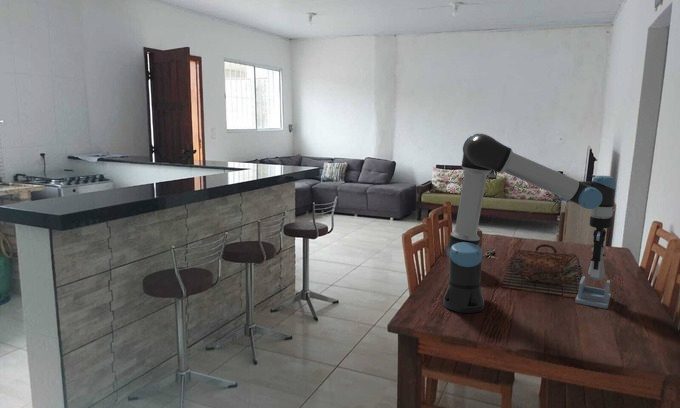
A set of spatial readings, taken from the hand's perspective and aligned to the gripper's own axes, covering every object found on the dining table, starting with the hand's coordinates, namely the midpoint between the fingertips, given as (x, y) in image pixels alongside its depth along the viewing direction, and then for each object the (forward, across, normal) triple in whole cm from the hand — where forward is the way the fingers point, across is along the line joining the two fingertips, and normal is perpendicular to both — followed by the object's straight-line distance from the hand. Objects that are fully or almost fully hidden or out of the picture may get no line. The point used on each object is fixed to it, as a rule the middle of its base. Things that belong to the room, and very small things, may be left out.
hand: (596, 274), depth 189 cm
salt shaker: (+2, 0, 0) cm, 2 cm away
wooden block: (+10, +10, +54) cm, 56 cm away
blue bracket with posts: (+10, 0, 0) cm, 10 cm away
